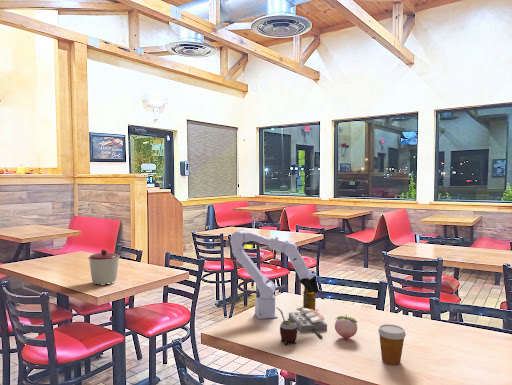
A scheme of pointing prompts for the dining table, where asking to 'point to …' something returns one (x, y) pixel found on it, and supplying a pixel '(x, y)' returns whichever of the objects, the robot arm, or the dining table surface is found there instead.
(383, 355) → the disposable coffee cup
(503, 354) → the dining table surface
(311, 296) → the condiment
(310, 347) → the dining table surface
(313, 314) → the rocker middle
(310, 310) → the rocker near arm
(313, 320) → the rocker near camera
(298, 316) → the rocker switch panel
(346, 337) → the decorative fruit
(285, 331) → the mate gourd
